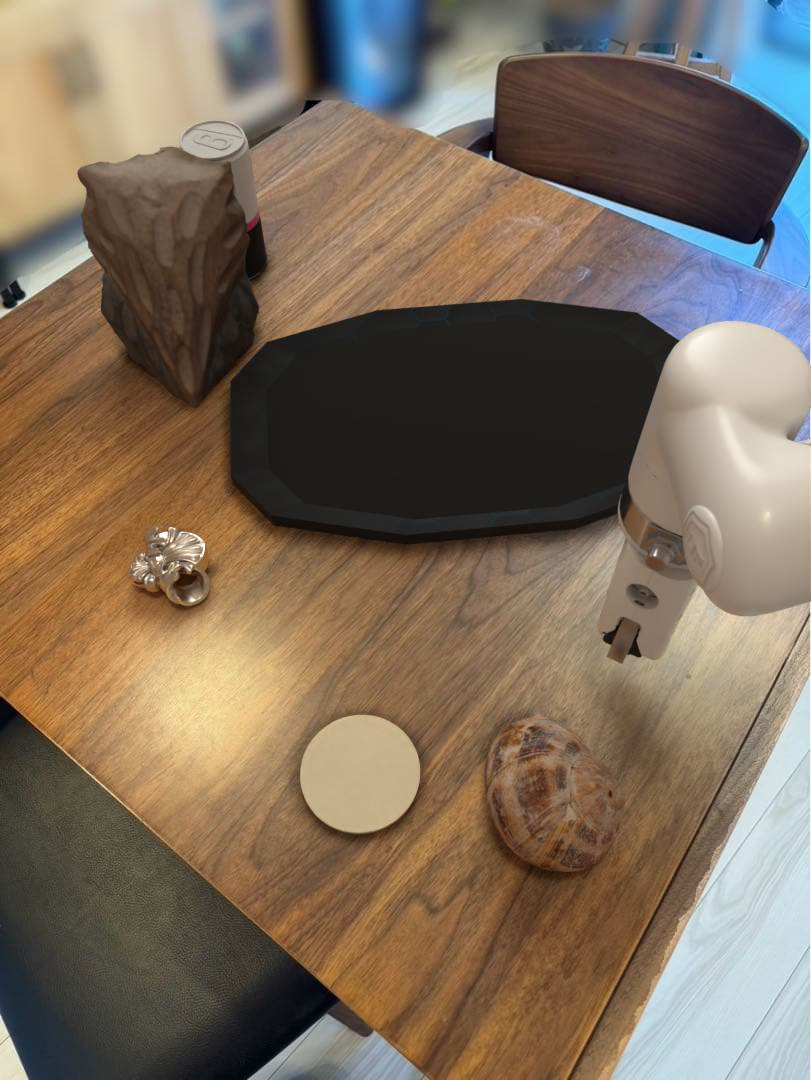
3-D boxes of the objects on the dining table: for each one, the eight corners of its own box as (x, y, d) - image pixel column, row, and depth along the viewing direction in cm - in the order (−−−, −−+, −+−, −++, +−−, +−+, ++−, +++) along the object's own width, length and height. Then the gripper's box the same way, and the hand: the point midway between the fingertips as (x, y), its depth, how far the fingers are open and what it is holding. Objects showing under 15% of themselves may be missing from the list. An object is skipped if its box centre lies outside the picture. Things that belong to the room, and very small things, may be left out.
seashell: (647, 761, 66) (647, 787, 57) (593, 869, 67) (584, 912, 57) (520, 695, 69) (500, 708, 60) (470, 798, 70) (441, 828, 60)
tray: (660, 298, 94) (663, 287, 93) (740, 513, 80) (745, 503, 78) (232, 332, 92) (230, 321, 91) (233, 560, 77) (230, 550, 76)
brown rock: (110, 348, 91) (42, 174, 74) (205, 285, 96) (161, 109, 79) (191, 412, 86) (138, 242, 69) (286, 342, 91) (258, 168, 74)
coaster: (441, 751, 68) (441, 749, 68) (381, 857, 64) (381, 856, 63) (341, 696, 70) (340, 694, 70) (277, 795, 66) (276, 794, 66)
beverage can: (248, 291, 95) (223, 166, 83) (196, 274, 97) (164, 148, 84) (278, 254, 99) (259, 128, 86) (227, 238, 100) (201, 111, 87)
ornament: (120, 554, 78) (108, 531, 74) (194, 524, 79) (186, 500, 76) (149, 627, 74) (138, 606, 71) (227, 593, 75) (219, 571, 72)
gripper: (703, 627, 50) (635, 745, 65) (780, 444, 57) (702, 589, 72) (578, 571, 52) (540, 698, 67) (668, 401, 59) (615, 551, 74)
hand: (624, 641), depth 70 cm, fingers closed
